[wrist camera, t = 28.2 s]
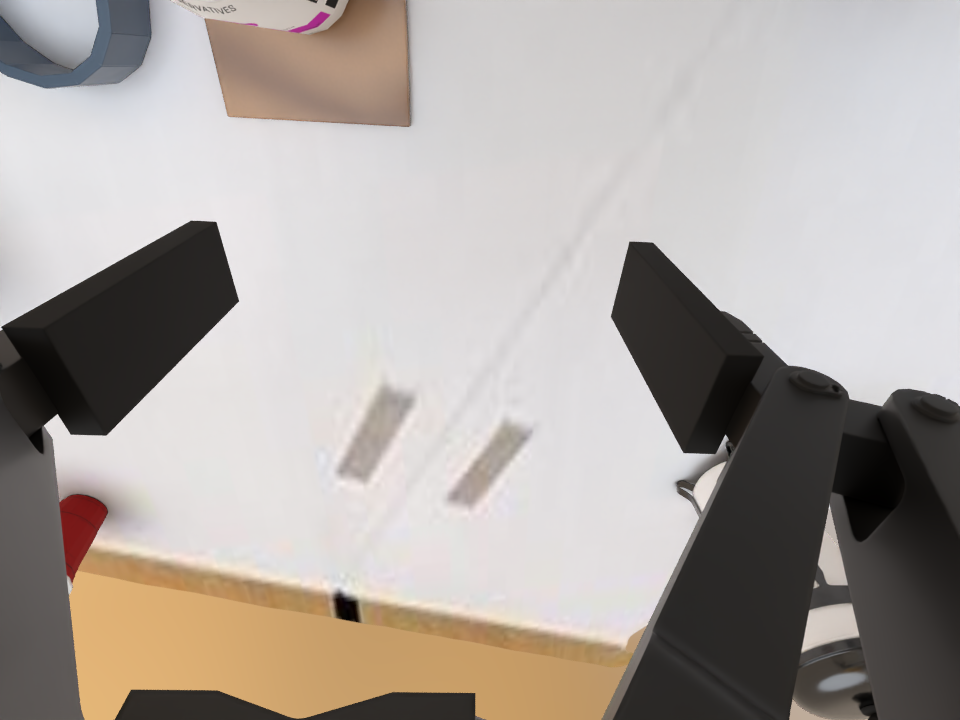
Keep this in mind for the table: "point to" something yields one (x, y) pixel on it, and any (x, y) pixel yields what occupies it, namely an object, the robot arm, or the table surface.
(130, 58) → the pot
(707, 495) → the coffee press
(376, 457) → the table surface
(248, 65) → the wooden board
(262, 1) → the supplement can
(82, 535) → the plastic cup
